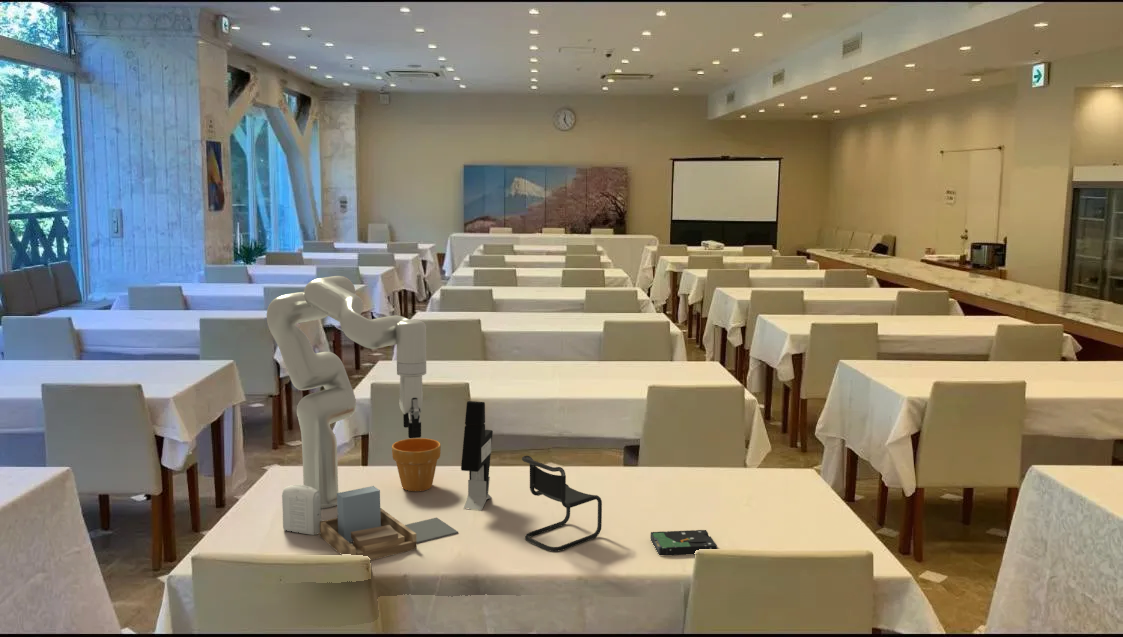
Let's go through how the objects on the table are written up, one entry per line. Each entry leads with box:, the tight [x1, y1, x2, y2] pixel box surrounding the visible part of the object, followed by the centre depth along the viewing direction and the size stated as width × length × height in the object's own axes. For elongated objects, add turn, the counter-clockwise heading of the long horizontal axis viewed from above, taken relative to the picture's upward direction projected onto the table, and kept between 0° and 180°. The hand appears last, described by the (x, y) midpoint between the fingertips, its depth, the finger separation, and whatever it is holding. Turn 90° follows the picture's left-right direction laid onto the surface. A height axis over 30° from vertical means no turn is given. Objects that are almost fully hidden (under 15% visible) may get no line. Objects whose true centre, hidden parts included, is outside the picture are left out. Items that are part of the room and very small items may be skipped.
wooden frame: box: [319, 507, 418, 561], centre depth 236 cm, size 21×17×4 cm
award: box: [460, 400, 494, 511], centre depth 262 cm, size 15×5×30 cm, turn 168°
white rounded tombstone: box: [281, 484, 322, 536], centre depth 242 cm, size 10×4×12 cm, turn 73°
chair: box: [521, 455, 603, 552], centre depth 239 cm, size 13×17×22 cm
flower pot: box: [391, 437, 441, 492], centre depth 276 cm, size 14×14×13 cm
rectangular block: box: [336, 485, 381, 543], centre depth 239 cm, size 4×10×12 cm, turn 125°
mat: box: [404, 517, 459, 544], centre depth 244 cm, size 12×12×1 cm
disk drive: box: [650, 529, 718, 556], centre depth 235 cm, size 10×3×15 cm
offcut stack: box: [350, 525, 405, 554], centre depth 232 cm, size 8×12×4 cm, turn 125°
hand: (412, 432), depth 242 cm, fingers open, 9 cm apart
